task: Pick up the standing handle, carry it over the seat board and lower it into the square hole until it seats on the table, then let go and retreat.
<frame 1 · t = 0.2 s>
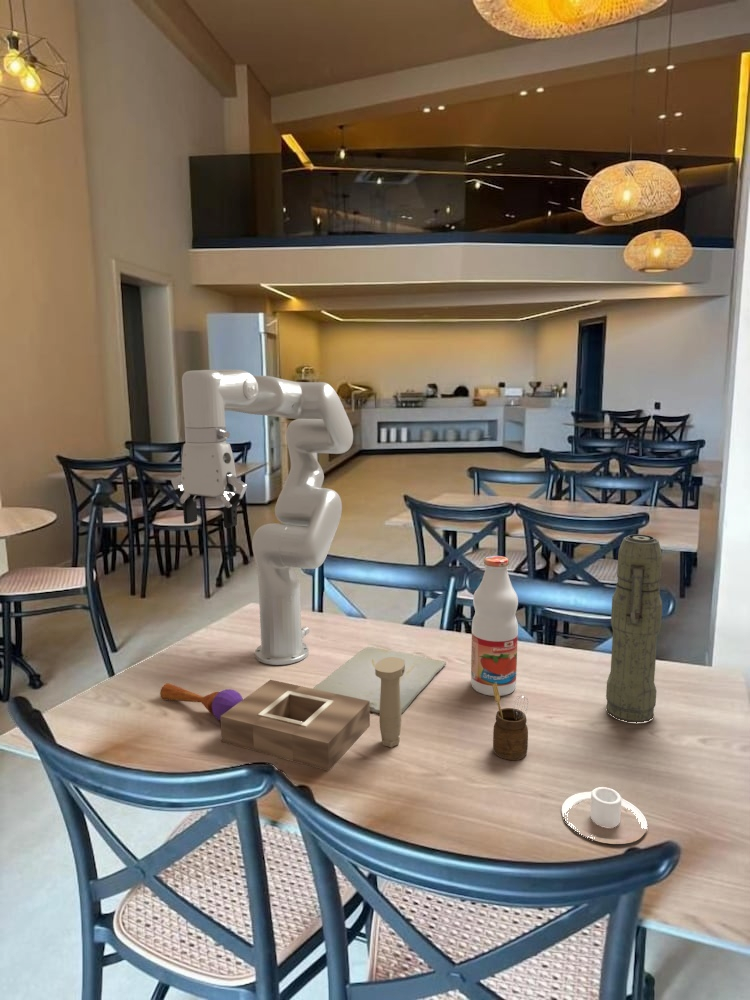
hand: (210, 524, 129), 37 cm above the table, tool pointing down, fingers open, 9 cm apart
utensil holder: (509, 752, 116), on the table
thermos: (629, 713, 129), on the table
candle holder: (603, 822, 98), on the table
seat board: (297, 733, 122), on the table
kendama: (202, 711, 132), on the table
decorative slab: (380, 683, 144), on the table
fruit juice: (493, 687, 140), on the table
handle: (390, 744, 119), on the table
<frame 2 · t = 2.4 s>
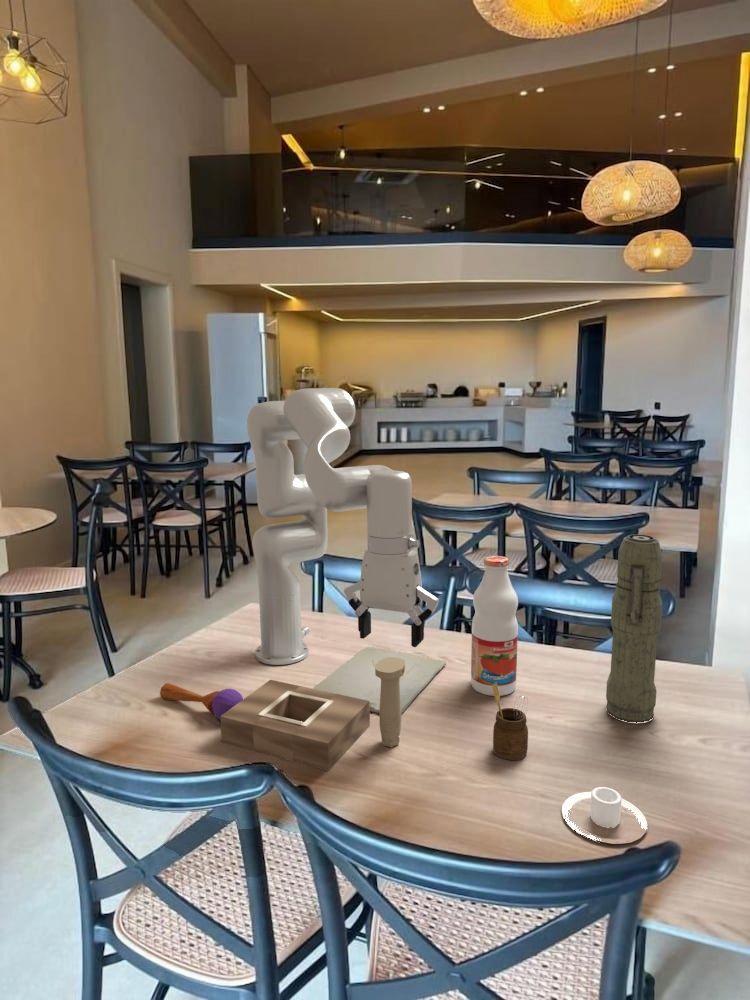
hand: (390, 640, 115), 20 cm above the table, tool pointing down, fingers open, 9 cm apart
nothing on the table moved.
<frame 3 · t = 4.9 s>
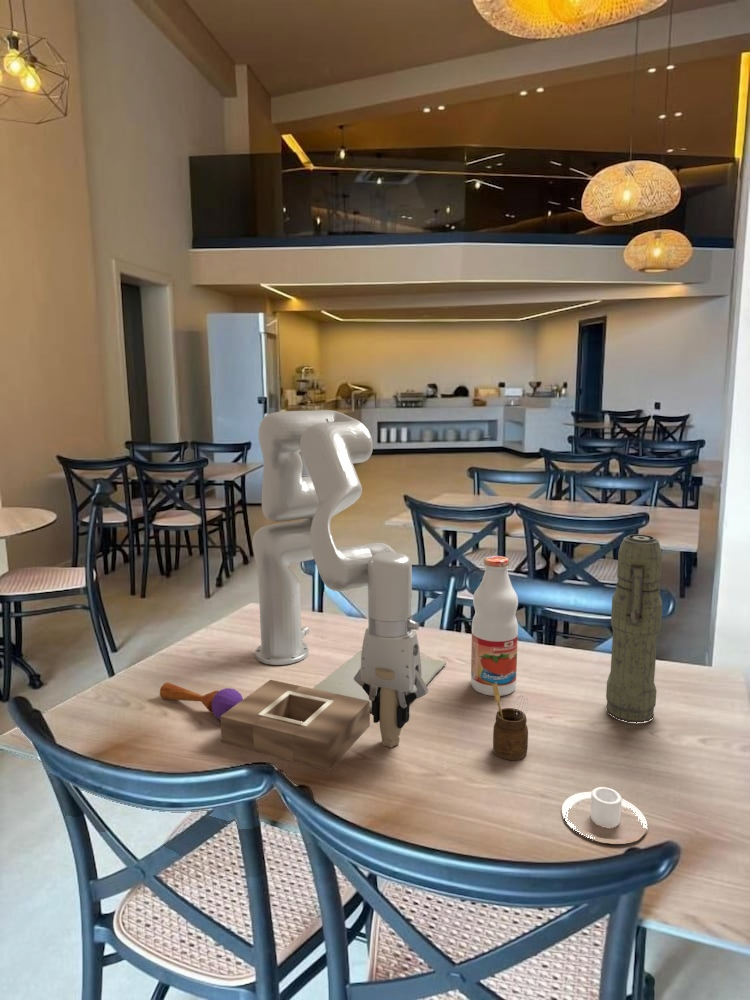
hand: (390, 721, 118), 4 cm above the table, tool pointing down, fingers closed on handle, 3 cm apart
handle: (390, 744, 119), on the table, touching gripper
everything else where it was.
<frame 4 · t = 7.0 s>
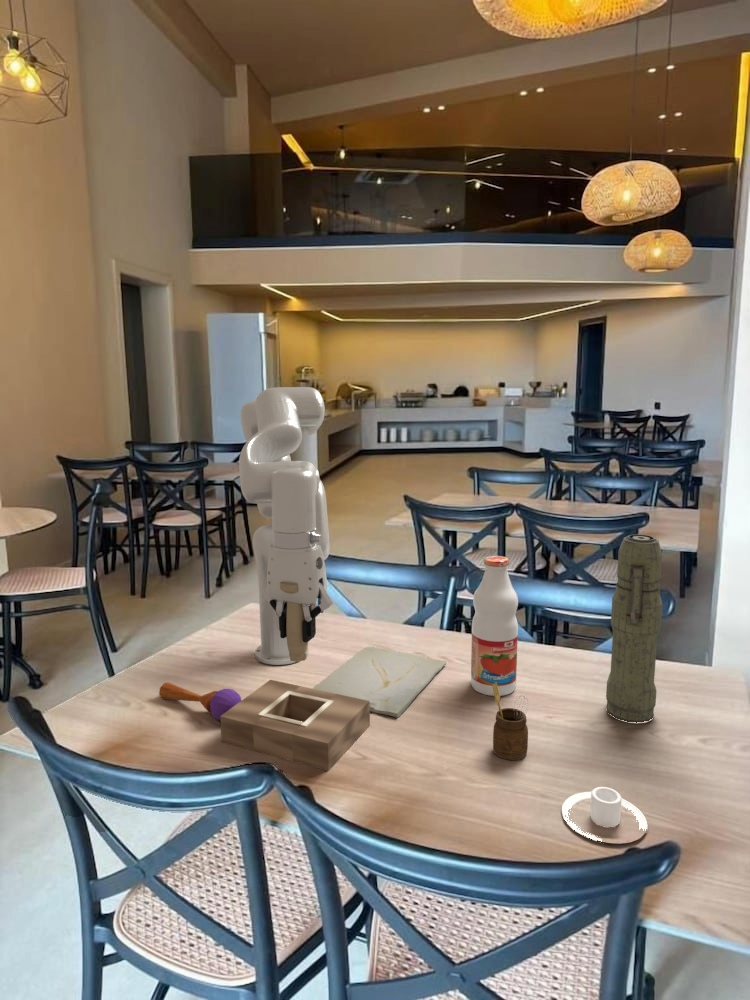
hand: (297, 636, 119), 19 cm above the table, tool pointing down, fingers closed on handle, 3 cm apart
handle: (298, 660, 120), point 14 cm above the table, touching gripper
everything else where it was.
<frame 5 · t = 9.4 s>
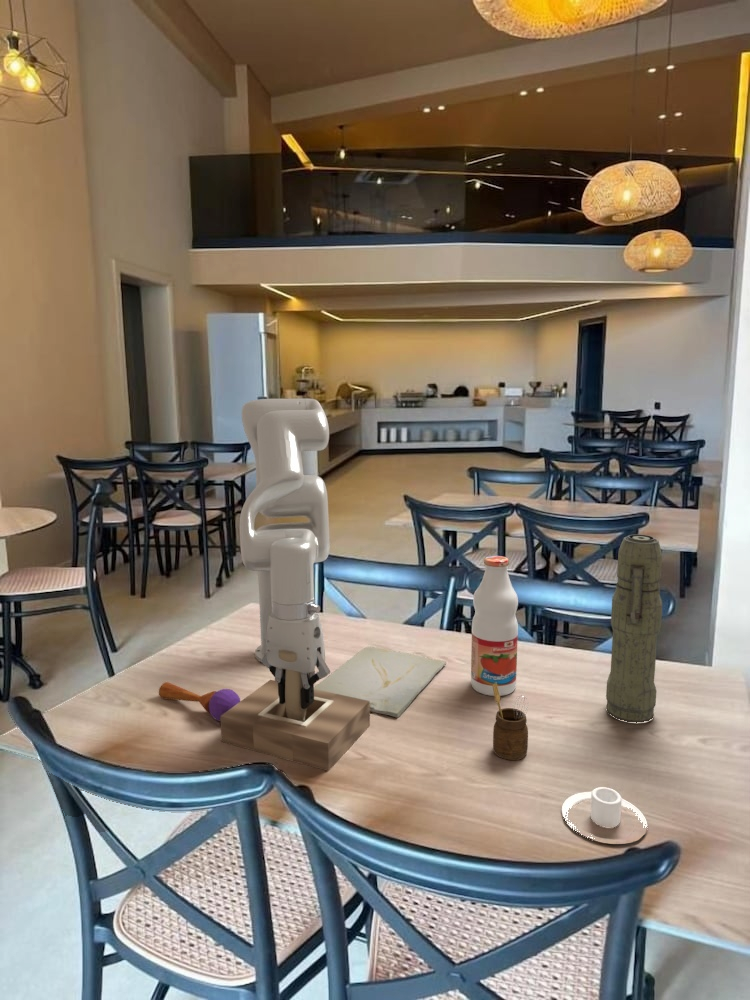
hand: (296, 702, 121), 6 cm above the table, tool pointing down, fingers closed on handle, 3 cm apart
handle: (296, 724, 122), point 2 cm above the table, touching gripper
everything else where it was.
when the fingers open (6 cm above the table, at t = 9.6 s): handle drops 2 cm, resting in seat board.
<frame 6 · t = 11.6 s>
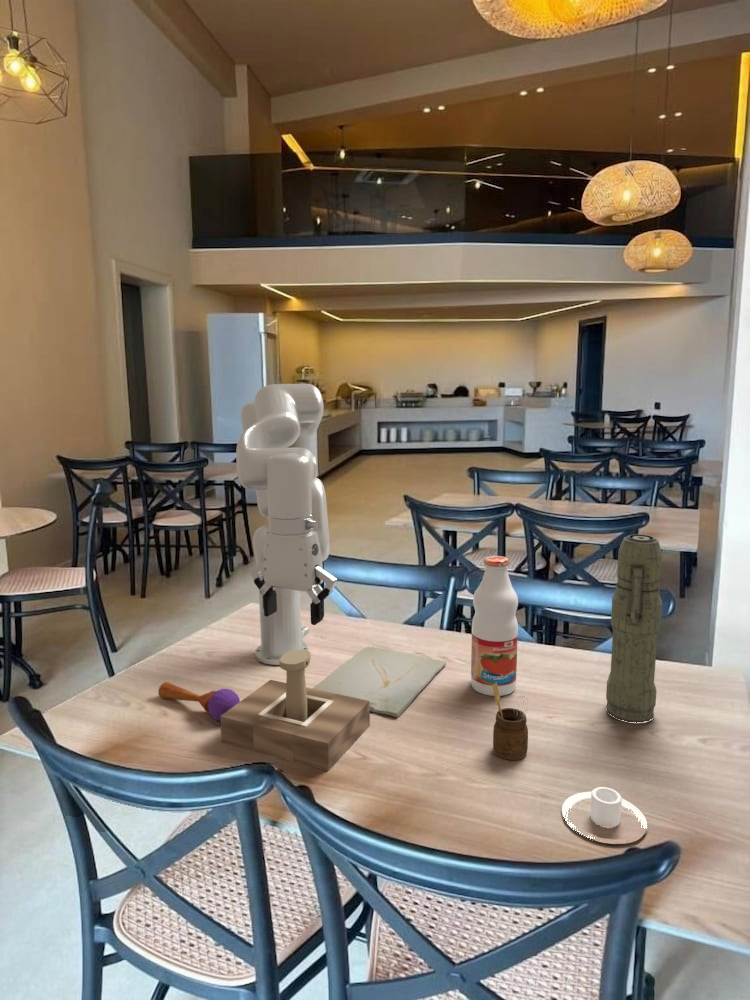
hand: (293, 618, 119), 22 cm above the table, tool pointing down, fingers open, 9 cm apart
handle: (297, 734, 122), resting in seat board
everything else where it was.
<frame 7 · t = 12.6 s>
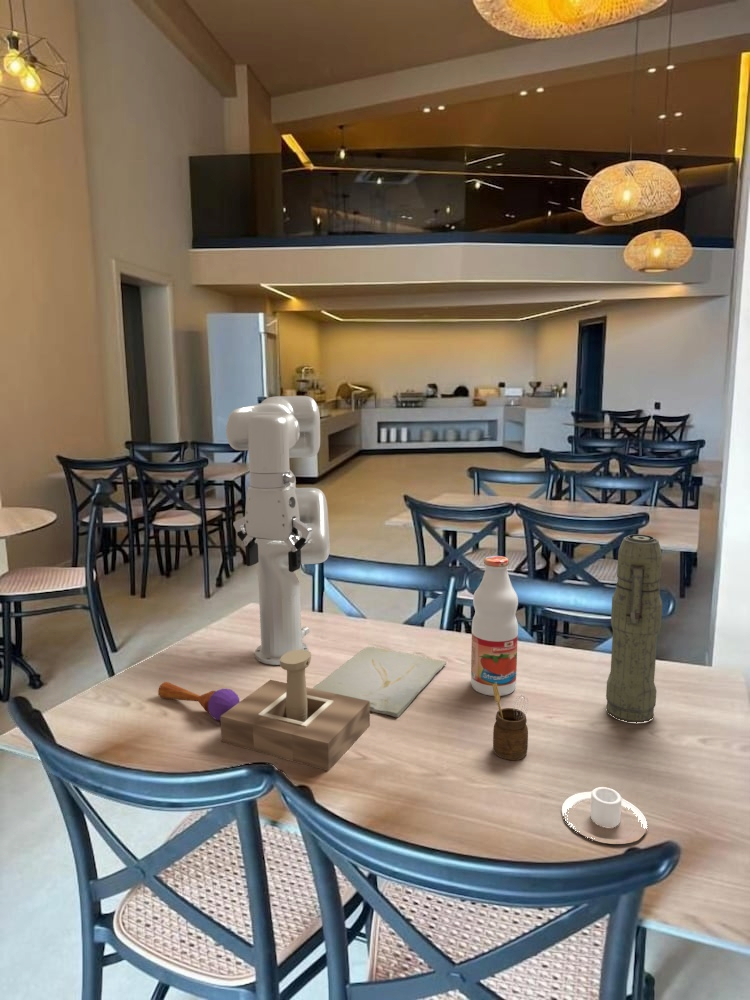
hand: (273, 567, 129), 28 cm above the table, tool pointing down, fingers open, 9 cm apart
nothing on the table moved.
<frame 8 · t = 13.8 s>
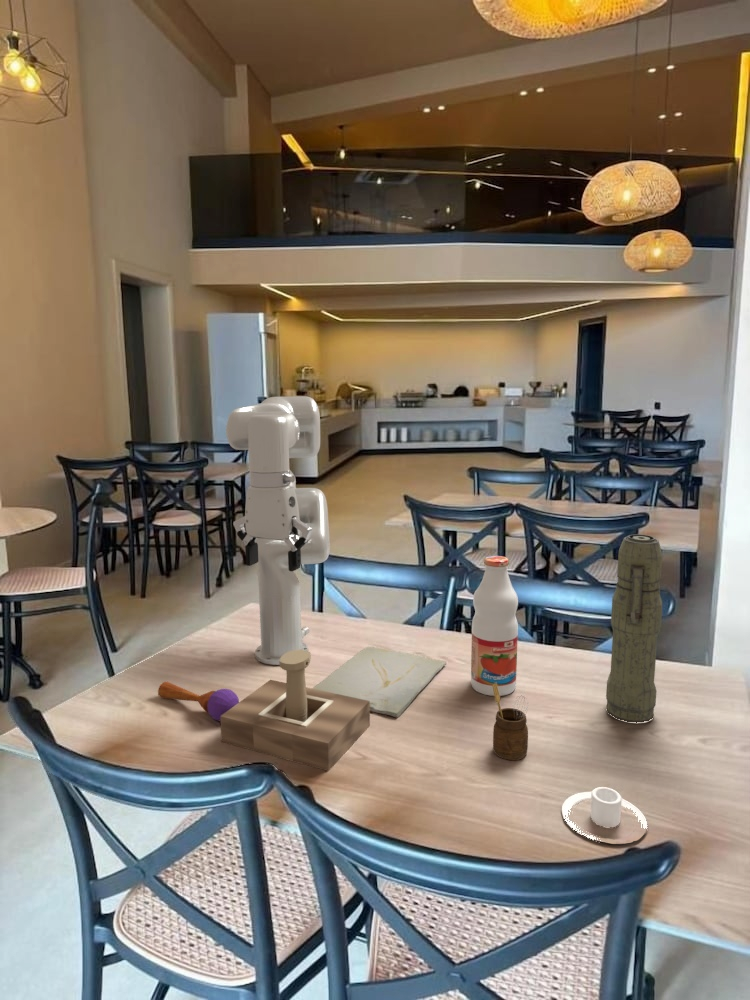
hand: (273, 566, 129), 28 cm above the table, tool pointing down, fingers open, 9 cm apart
nothing on the table moved.
at the end: handle 0.1 cm off-centre on the seat board, point 0.0 cm above the seat board's base; the gripper is holding nothing; handle tilted 0° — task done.
